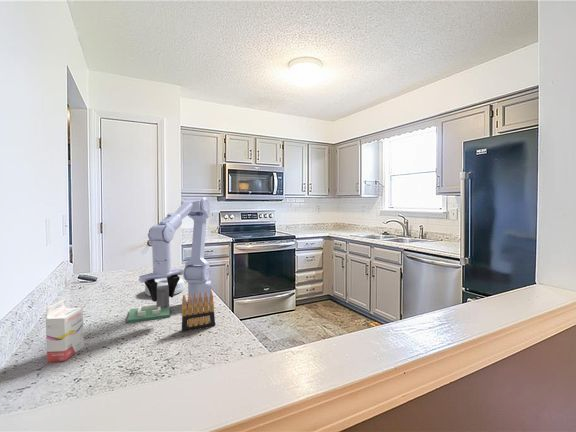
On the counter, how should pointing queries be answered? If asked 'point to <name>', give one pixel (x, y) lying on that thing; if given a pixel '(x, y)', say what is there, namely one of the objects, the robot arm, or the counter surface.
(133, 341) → the counter surface
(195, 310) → the ammunition clip
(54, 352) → the ink cartridge box
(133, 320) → the board
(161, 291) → the plug
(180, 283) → the cable
